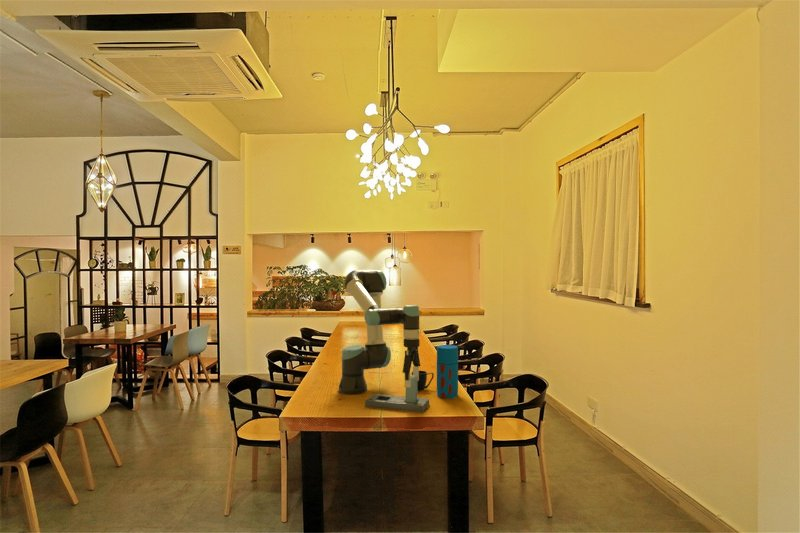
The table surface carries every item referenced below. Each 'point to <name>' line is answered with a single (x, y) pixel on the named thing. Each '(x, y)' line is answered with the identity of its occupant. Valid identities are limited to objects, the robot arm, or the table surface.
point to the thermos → (447, 371)
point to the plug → (412, 391)
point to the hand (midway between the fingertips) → (411, 383)
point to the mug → (423, 380)
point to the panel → (396, 403)
